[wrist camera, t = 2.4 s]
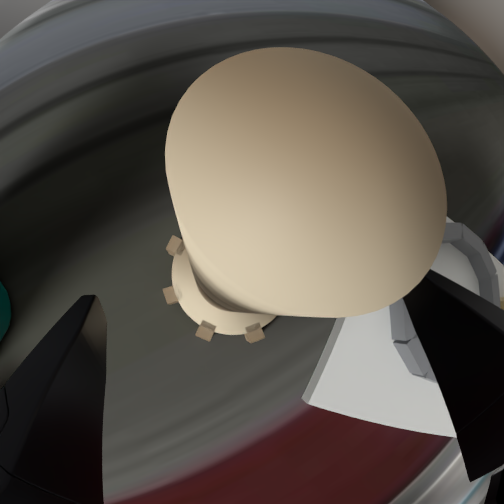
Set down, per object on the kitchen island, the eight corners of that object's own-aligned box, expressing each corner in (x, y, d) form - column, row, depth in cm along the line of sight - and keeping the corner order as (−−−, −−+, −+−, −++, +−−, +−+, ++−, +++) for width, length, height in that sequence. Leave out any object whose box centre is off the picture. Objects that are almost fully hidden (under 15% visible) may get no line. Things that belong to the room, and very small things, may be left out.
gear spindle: (262, 362, 16) (430, 486, 3) (143, 305, 16) (-44, 282, 2) (311, 247, 18) (500, 129, 5) (201, 193, 18) (213, -29, 4)
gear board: (480, 437, 18) (505, 445, 14) (301, 398, 16) (324, 417, 13) (521, 292, 21) (545, 288, 18) (381, 181, 20) (409, 160, 16)
